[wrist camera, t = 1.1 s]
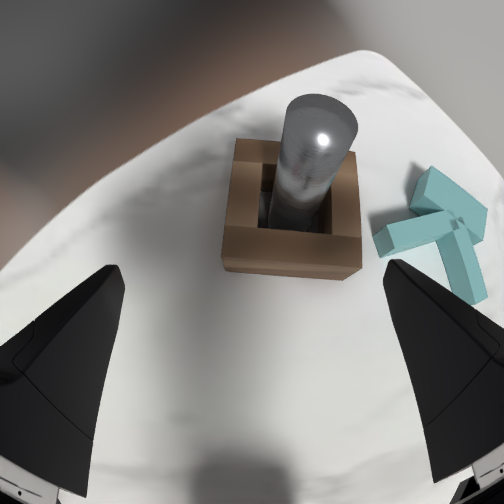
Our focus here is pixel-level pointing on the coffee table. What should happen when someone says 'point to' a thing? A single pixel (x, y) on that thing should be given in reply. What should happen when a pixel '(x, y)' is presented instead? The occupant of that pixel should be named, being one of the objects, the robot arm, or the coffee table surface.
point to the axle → (309, 158)
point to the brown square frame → (283, 241)
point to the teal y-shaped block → (443, 232)
